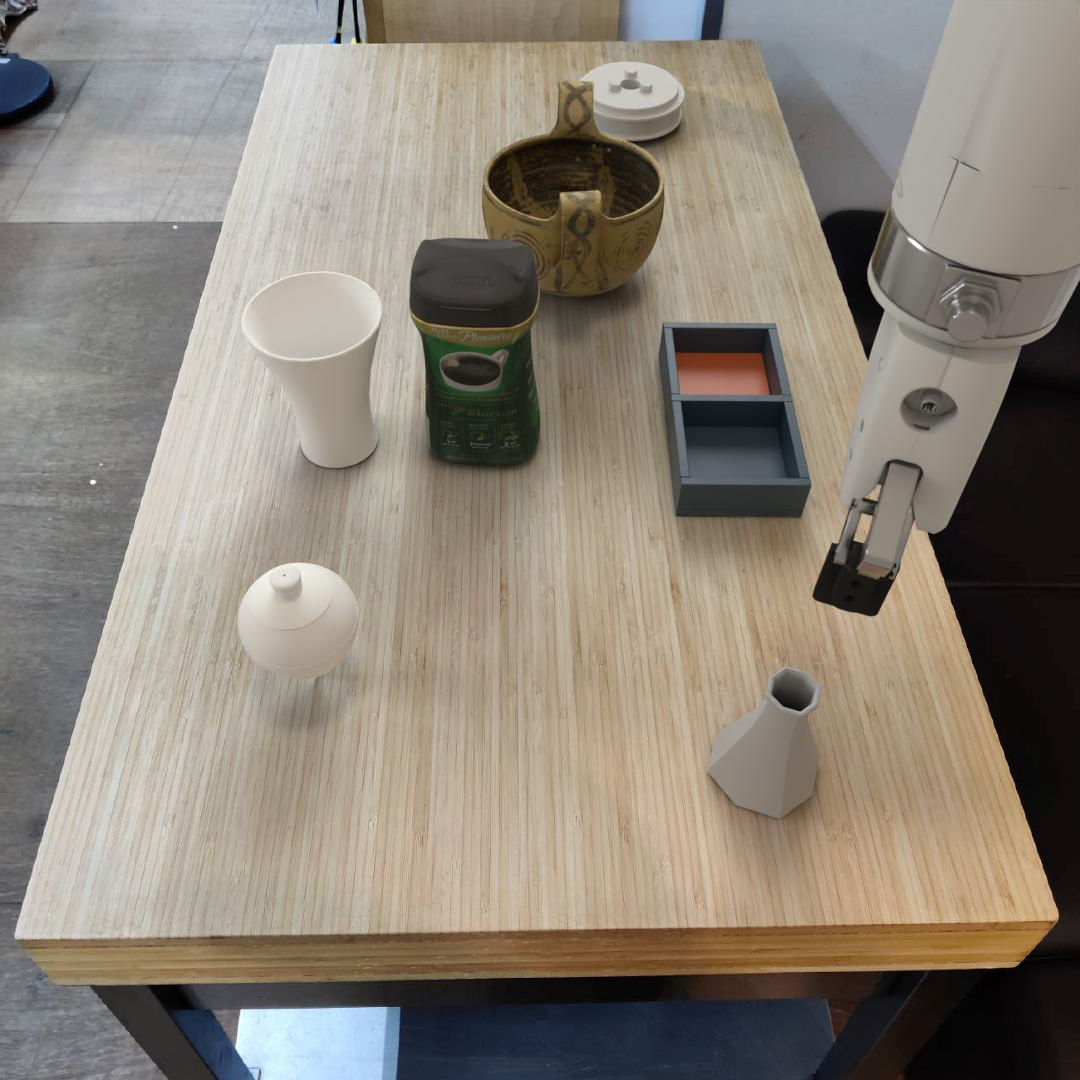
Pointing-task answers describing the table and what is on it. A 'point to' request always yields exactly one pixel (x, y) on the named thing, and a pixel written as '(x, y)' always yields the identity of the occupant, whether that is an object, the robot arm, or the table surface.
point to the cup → (321, 358)
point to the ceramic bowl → (576, 200)
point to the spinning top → (298, 620)
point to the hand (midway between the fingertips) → (859, 532)
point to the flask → (771, 748)
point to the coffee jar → (477, 348)
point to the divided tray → (731, 421)
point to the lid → (635, 100)
